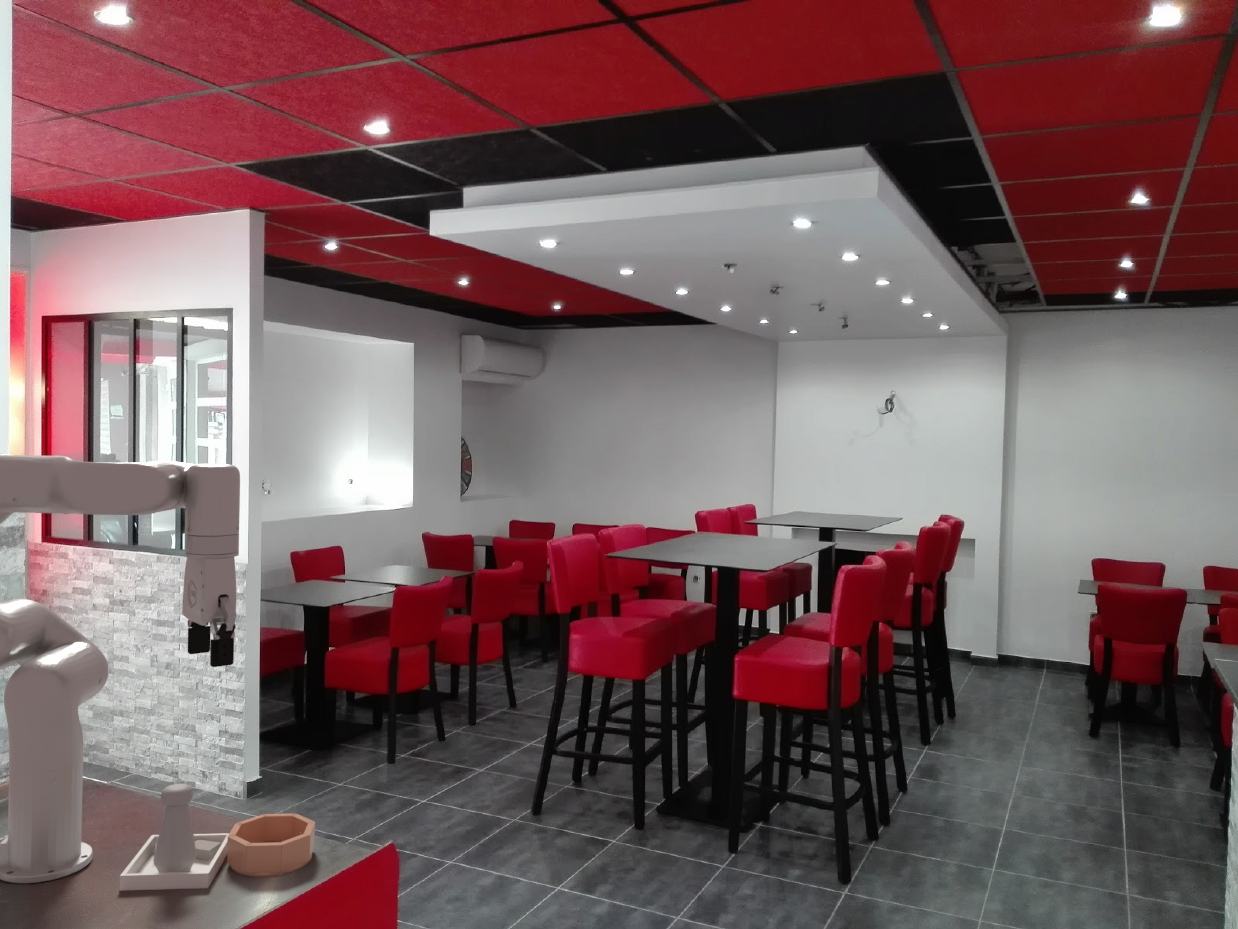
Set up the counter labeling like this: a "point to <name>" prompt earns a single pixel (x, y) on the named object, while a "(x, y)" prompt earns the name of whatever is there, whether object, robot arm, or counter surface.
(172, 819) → the salt shaker
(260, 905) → the counter surface
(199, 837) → the tray
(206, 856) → the beige rectangular block
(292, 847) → the bowl
